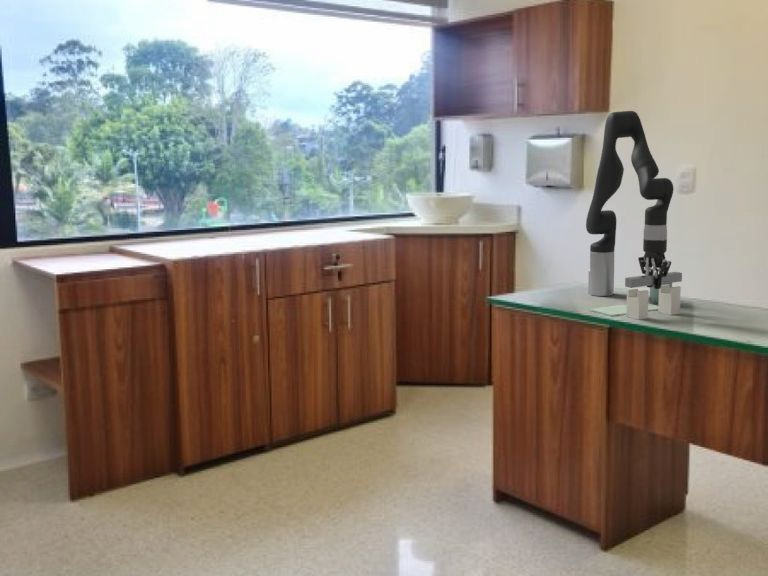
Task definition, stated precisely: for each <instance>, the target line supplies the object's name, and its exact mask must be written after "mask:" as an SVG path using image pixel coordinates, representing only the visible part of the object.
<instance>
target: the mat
mask: <svg viewBox="0 0 768 576" xmlns="http://www.w3.org/2000/svg"><path fill="white" fill-rule="evenodd" d="M626 309H627V303H626V304H618V305H613V306H603V307H595V308H589V309H588V311H589V312H593V313H597V314H601V315H604V316H607V317H608V316H609V317H617V316H623V315H625V316H626ZM651 311H652V312H653V311H658V304H657V305H655V304H651V303H648V312H651Z"/></svg>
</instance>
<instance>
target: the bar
mask: <svg viewBox="0 0 768 576" xmlns="http://www.w3.org/2000/svg"><path fill="white" fill-rule="evenodd" d="M654 279H655V274H654V273H653V275H645V274H643V275H637V276H629V277H625V278H624V280H625V281H624V286H625V287H626V288H628V289H634V288H640V287H641V288H642V287H647V286H650V285H654ZM679 282H683V272H679V271H670V272H669V271H668V273H667V276H666V277H662V279H661V284H665V283H672V284H673V283H679Z"/></svg>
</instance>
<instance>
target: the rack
mask: <svg viewBox="0 0 768 576" xmlns="http://www.w3.org/2000/svg"><path fill="white" fill-rule="evenodd" d="M638 289H639V287H634V288H627V289H626V304H627V309H626V314H625V316H626V317H627V318H630V319H634V320H646V319H649V311H648V304H649V290H647V289H646V290H638ZM681 290H682V289H681V286H679V285H678V286H677V285H676V286H672V287H670V285H669V284H666V285H661V288H660V289H659V304H657V306H658V310H657V311H658V313H660V314H664V315H669V316H673V315H674V316H675V315H679V314H681Z"/></svg>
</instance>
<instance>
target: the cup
mask: <svg viewBox="0 0 768 576" xmlns="http://www.w3.org/2000/svg"><path fill="white" fill-rule="evenodd" d="M666 284H669V285H670V287H673V283H665V284H661V285H666ZM649 296H650V297H649V298H650V300H651V302H652V303H654V304H657V305H659V289H654V285H653V287H649Z"/></svg>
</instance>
